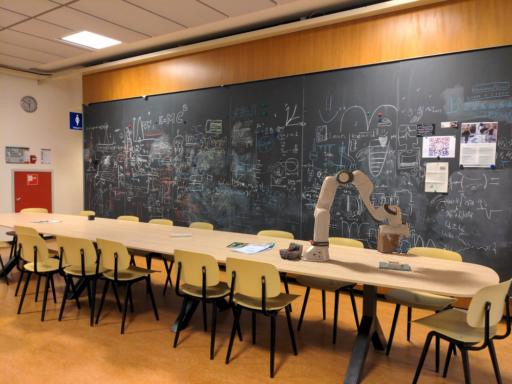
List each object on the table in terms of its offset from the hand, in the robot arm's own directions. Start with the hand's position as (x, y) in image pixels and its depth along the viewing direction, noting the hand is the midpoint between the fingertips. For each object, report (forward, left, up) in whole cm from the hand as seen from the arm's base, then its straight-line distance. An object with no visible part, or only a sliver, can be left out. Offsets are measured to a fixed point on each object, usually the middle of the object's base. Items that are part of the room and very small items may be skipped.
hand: (394, 240), depth 267 cm
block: (+15, +53, -19) cm, 58 cm away
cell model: (-69, +30, -19) cm, 77 cm away
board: (0, +1, -19) cm, 19 cm away
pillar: (0, +1, -5) cm, 5 cm away
